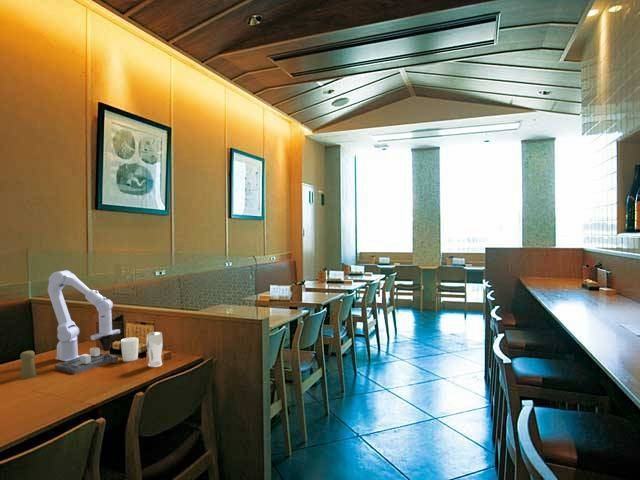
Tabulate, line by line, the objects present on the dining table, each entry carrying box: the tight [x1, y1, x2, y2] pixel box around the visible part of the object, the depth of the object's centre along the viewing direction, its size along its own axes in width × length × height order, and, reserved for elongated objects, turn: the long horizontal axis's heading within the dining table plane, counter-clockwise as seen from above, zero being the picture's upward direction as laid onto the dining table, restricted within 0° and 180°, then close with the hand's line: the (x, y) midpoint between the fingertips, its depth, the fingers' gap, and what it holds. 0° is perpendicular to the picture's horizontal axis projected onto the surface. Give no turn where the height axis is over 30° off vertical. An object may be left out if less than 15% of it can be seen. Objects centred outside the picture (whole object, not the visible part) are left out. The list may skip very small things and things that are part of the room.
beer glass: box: [146, 331, 164, 368], centre depth 187 cm, size 7×7×15 cm
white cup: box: [120, 336, 139, 362], centre depth 197 cm, size 8×8×10 cm
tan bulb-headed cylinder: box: [19, 350, 37, 380], centre depth 176 cm, size 6×6×11 cm
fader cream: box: [89, 346, 101, 356], centre depth 197 cm, size 4×2×4 cm, turn 62°
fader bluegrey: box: [80, 353, 91, 364], centre depth 186 cm, size 4×2×4 cm, turn 62°
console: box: [54, 352, 119, 375], centre depth 190 cm, size 15×21×3 cm
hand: (106, 350), depth 202 cm, fingers closed
